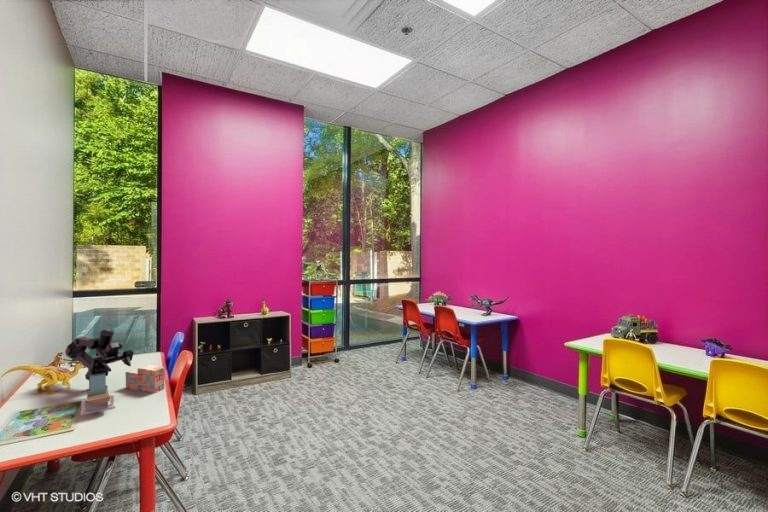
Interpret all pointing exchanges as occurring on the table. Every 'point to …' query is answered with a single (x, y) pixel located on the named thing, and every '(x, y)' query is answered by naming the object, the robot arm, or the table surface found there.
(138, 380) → the stack of blocks
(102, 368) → the robot arm
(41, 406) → the table surface
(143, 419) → the table surface
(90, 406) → the beam
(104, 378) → the grey rectangular block
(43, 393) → the table surface
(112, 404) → the pivot stand
